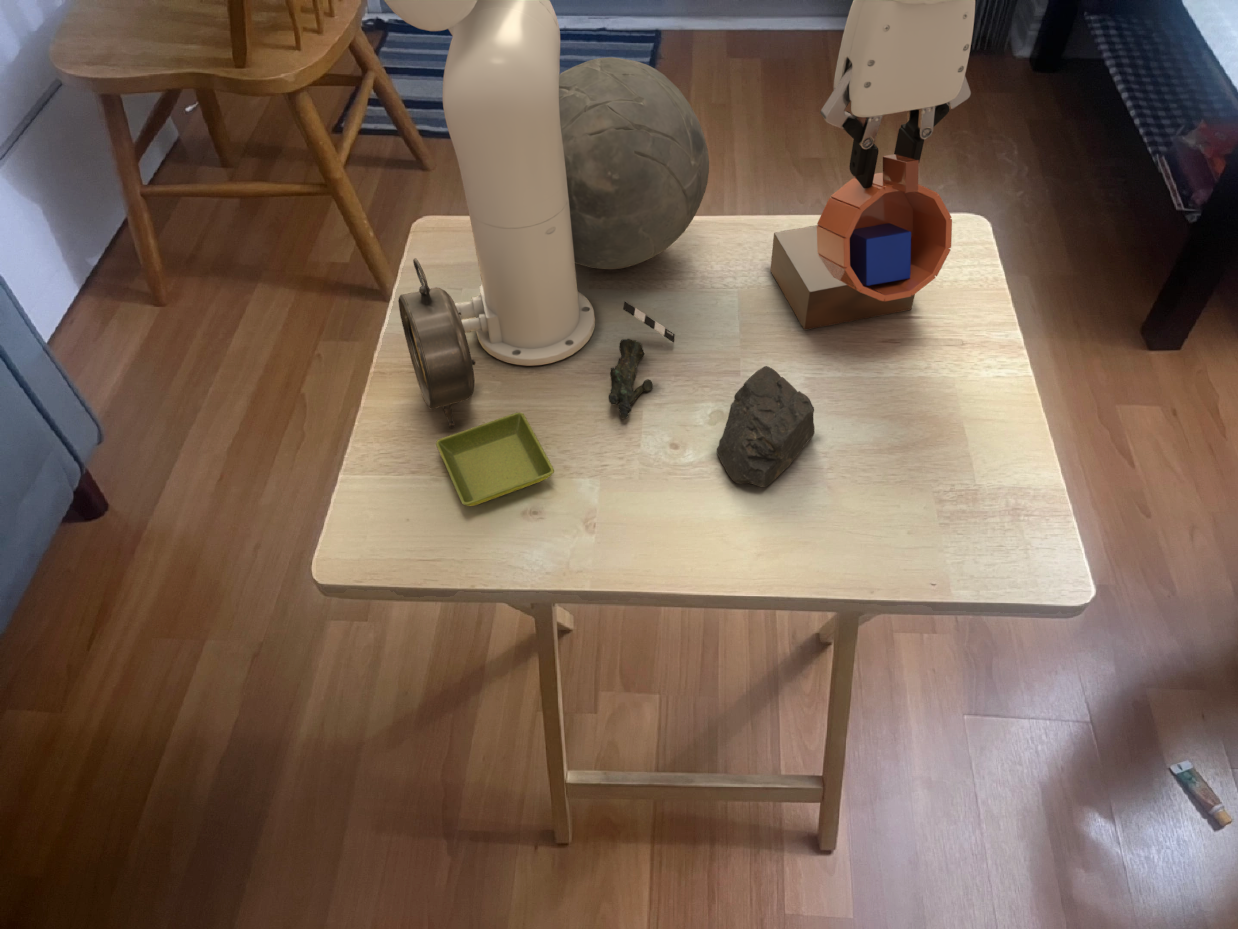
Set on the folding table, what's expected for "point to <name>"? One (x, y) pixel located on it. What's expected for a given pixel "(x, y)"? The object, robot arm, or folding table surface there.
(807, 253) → the stand
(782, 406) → the rock
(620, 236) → the grey scuffed sphere
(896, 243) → the cube
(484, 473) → the green rectangular tray
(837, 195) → the orange stave bucket
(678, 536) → the folding table surface
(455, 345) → the alarm clock
